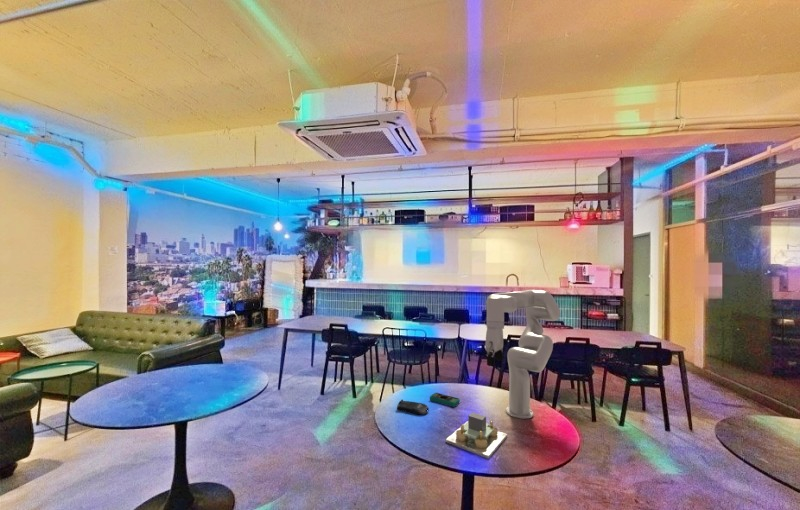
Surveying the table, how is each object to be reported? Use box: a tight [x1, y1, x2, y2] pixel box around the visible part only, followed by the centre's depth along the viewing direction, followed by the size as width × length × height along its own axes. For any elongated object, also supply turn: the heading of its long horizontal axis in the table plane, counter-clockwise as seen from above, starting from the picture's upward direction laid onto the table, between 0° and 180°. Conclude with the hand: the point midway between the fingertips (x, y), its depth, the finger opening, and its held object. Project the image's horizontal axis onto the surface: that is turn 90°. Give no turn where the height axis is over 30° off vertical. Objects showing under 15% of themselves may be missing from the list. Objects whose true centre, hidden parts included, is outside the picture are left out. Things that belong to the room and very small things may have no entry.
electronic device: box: [396, 399, 430, 415], centre depth 162 cm, size 9×6×15 cm
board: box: [463, 412, 494, 439], centre depth 135 cm, size 14×11×6 cm
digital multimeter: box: [429, 392, 461, 408], centre depth 172 cm, size 7×15×3 cm, turn 56°
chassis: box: [445, 419, 508, 459], centre depth 135 cm, size 20×18×7 cm
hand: (494, 363), depth 146 cm, fingers open, 9 cm apart
